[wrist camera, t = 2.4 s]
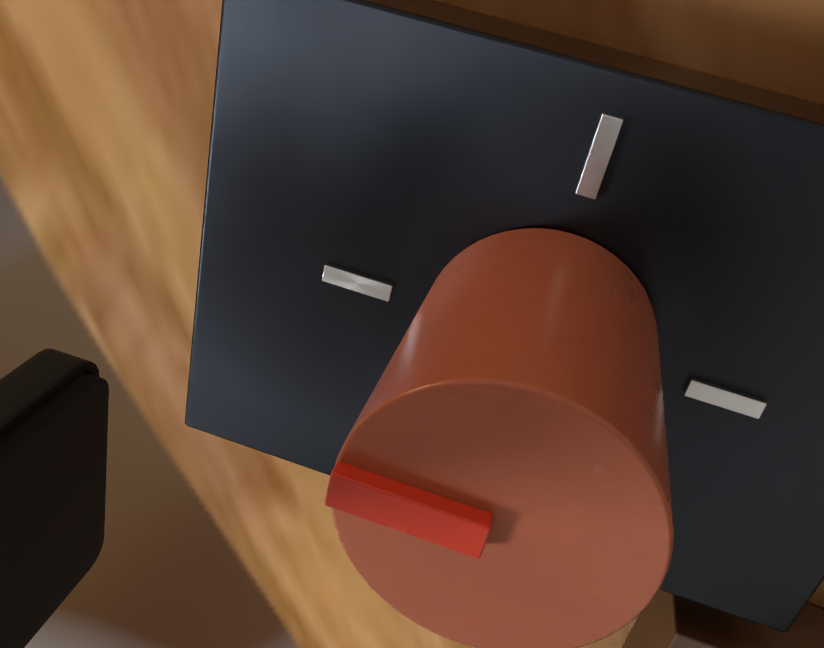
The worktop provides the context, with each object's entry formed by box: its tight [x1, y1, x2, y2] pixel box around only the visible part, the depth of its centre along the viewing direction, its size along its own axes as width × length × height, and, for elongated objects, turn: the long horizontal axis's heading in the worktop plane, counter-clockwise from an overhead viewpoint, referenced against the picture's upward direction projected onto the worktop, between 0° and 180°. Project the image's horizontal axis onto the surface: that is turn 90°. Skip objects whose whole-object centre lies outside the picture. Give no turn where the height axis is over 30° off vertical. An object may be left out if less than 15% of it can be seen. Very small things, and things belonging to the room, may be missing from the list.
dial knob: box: [325, 228, 674, 648], centre depth 12 cm, size 4×4×6 cm
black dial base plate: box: [185, 0, 824, 633], centre depth 16 cm, size 14×10×3 cm
